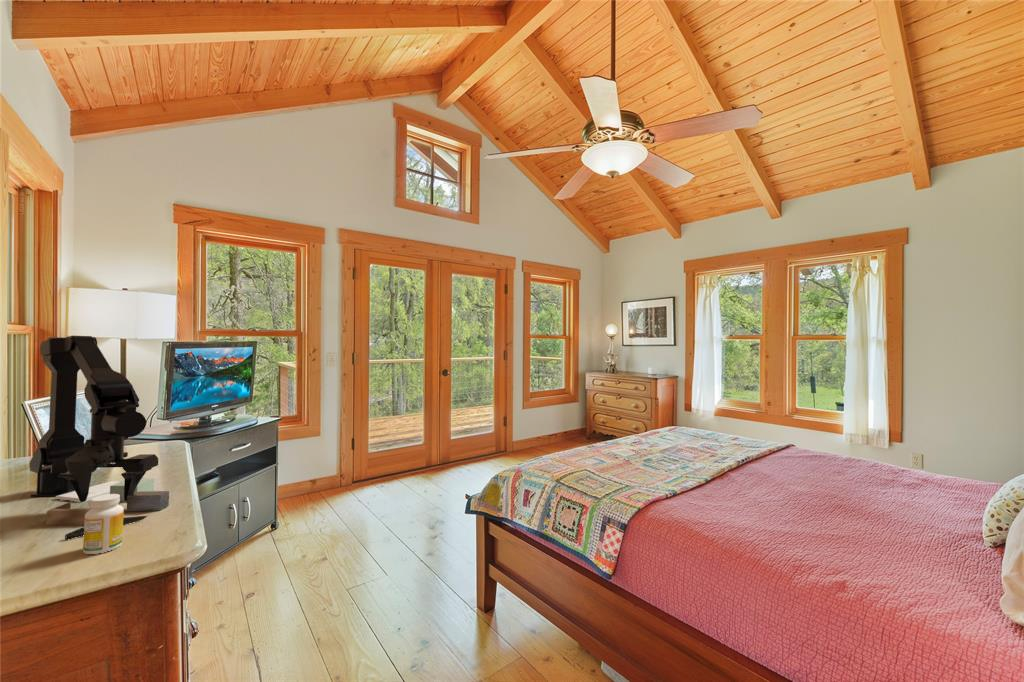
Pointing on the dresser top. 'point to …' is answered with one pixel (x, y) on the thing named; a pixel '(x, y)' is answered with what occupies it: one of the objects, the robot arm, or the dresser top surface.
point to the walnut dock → (66, 515)
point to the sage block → (142, 486)
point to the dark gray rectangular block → (147, 500)
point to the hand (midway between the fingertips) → (105, 501)
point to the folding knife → (81, 531)
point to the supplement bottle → (103, 524)
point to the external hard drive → (93, 492)
